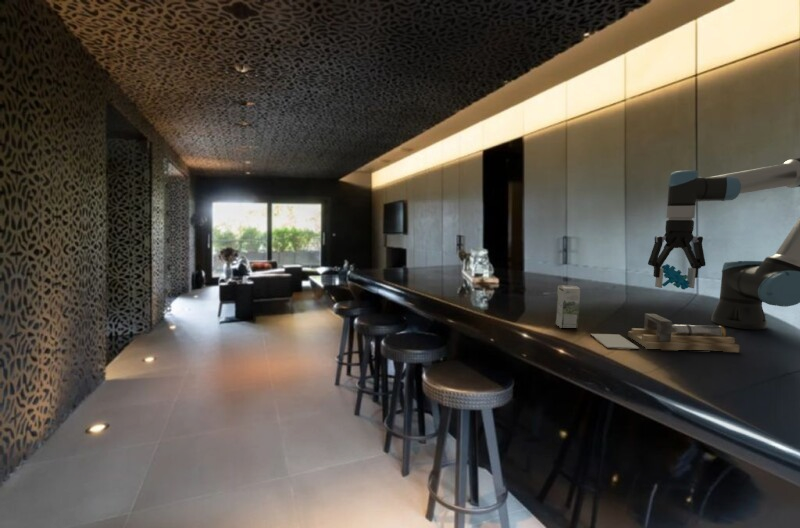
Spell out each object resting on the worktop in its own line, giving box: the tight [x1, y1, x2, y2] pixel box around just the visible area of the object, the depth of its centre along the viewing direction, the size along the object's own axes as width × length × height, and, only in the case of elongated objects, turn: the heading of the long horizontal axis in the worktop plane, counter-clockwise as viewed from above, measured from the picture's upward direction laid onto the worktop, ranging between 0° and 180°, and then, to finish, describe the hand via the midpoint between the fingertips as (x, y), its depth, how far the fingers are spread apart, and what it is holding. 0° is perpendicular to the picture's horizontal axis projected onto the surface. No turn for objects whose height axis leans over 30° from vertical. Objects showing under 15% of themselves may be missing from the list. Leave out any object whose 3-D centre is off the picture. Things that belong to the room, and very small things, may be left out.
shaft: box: [671, 324, 727, 337], centre depth 120 cm, size 15×4×4 cm, turn 85°
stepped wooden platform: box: [627, 313, 741, 353], centre depth 121 cm, size 25×12×8 cm, turn 85°
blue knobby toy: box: [661, 263, 690, 290], centre depth 134 cm, size 11×6×10 cm
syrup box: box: [555, 285, 581, 329], centre depth 139 cm, size 6×6×14 cm
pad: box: [590, 333, 640, 350], centre depth 123 cm, size 9×13×1 cm
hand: (674, 287), depth 132 cm, fingers closed on blue knobby toy, 9 cm apart
